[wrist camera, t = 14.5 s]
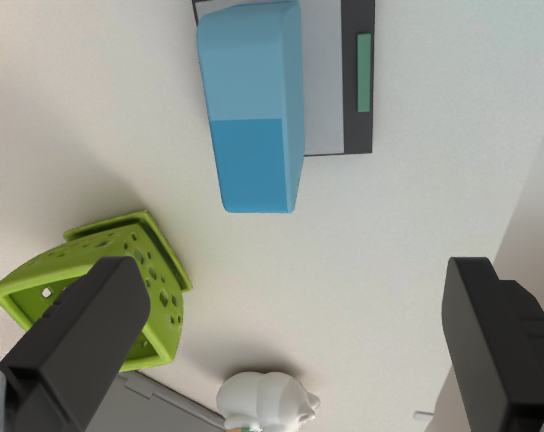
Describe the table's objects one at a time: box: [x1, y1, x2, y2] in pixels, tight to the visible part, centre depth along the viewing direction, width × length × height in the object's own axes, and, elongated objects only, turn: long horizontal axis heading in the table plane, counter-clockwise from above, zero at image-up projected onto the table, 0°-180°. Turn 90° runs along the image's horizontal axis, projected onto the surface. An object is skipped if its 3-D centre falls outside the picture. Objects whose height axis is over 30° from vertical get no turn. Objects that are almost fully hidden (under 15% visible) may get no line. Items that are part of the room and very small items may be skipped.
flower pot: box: [0, 210, 193, 372], centre depth 43 cm, size 14×14×13 cm
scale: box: [192, 0, 375, 157], centre depth 33 cm, size 14×14×3 cm
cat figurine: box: [217, 372, 320, 432], centre depth 55 cm, size 10×8×15 cm
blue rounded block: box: [197, 0, 305, 213], centre depth 27 cm, size 12×4×12 cm, turn 4°
